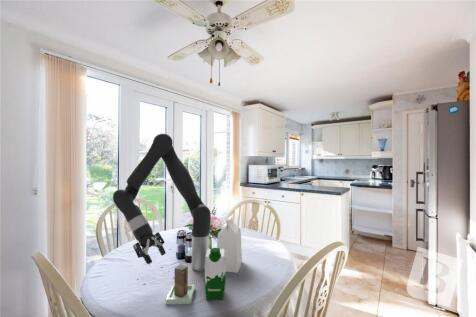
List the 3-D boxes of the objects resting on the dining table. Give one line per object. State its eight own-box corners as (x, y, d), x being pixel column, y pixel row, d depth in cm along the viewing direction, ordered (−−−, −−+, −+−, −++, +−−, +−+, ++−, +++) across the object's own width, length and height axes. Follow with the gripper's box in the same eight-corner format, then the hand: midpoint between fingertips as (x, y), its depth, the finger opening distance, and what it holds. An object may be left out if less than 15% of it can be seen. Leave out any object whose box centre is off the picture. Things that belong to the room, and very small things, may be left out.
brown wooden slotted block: (180, 290, 94) (180, 264, 94) (187, 293, 92) (187, 266, 92) (174, 295, 90) (174, 268, 90) (182, 298, 89) (182, 270, 89)
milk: (237, 272, 110) (238, 221, 111) (216, 270, 113) (216, 220, 113) (242, 261, 122) (242, 215, 122) (222, 259, 124) (222, 214, 125)
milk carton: (203, 301, 88) (203, 252, 88) (206, 288, 97) (206, 243, 97) (225, 301, 88) (225, 252, 88) (225, 288, 97) (226, 243, 97)
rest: (194, 289, 96) (194, 284, 96) (190, 303, 86) (190, 298, 86) (172, 289, 96) (172, 284, 96) (165, 304, 86) (165, 299, 86)
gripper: (132, 228, 92) (151, 262, 89) (156, 218, 105) (173, 248, 102) (122, 236, 94) (139, 270, 91) (146, 226, 108) (162, 255, 105)
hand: (157, 258), depth 97 cm, fingers open, 8 cm apart
